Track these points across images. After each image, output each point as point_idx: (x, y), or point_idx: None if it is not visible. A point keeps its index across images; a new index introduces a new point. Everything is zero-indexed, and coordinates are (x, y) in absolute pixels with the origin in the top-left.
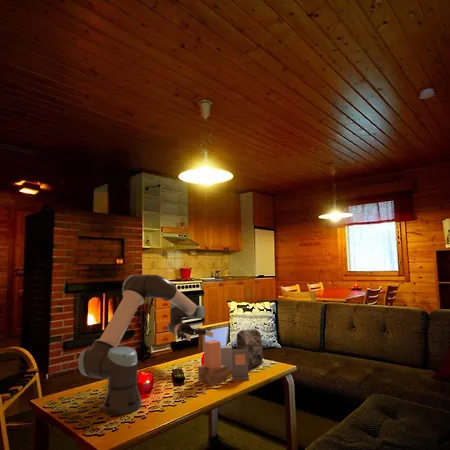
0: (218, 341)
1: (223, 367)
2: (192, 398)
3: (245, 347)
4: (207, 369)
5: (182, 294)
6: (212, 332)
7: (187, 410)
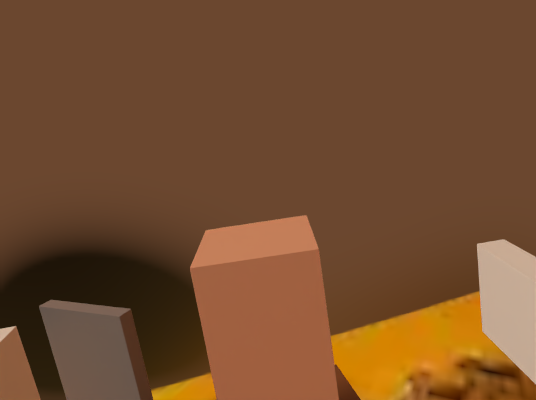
0: (204, 237)
1: None
2: (484, 353)
3: None
4: (352, 392)
5: None
6: (3, 333)
7: None
